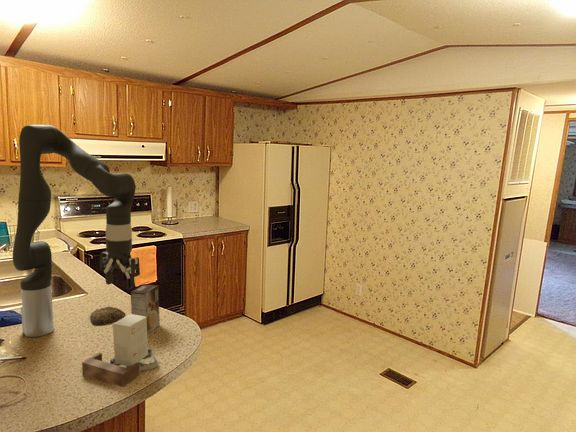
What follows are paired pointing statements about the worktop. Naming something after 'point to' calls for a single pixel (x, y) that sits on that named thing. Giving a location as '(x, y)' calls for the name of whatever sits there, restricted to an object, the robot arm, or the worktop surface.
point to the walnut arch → (109, 371)
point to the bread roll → (106, 315)
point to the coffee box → (146, 305)
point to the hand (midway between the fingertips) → (119, 286)
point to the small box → (130, 339)
